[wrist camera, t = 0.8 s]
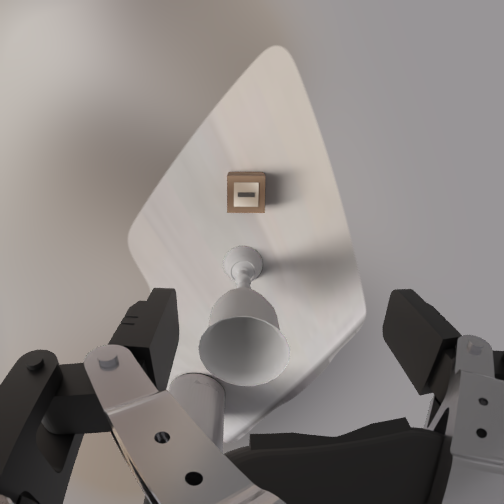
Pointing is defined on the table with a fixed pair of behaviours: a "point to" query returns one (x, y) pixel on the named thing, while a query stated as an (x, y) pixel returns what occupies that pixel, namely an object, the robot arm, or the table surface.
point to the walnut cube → (245, 192)
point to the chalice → (244, 328)
